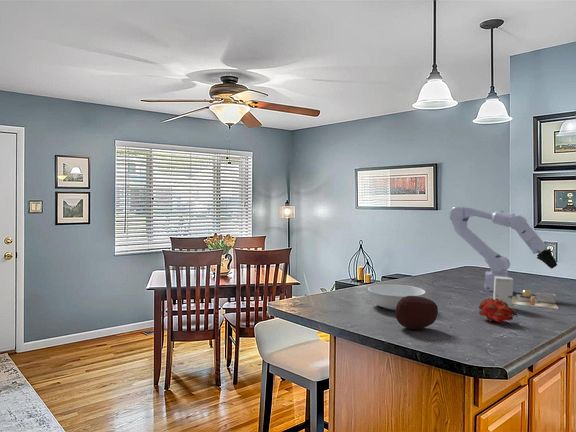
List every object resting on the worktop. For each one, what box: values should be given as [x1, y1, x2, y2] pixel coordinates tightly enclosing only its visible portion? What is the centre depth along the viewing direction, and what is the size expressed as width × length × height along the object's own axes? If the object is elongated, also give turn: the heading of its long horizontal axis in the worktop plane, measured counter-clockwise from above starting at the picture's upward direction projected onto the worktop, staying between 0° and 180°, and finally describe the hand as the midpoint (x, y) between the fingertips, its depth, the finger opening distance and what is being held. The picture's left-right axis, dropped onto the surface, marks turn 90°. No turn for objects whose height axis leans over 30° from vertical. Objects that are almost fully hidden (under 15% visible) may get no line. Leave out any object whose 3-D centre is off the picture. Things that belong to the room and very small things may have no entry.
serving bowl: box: [367, 283, 427, 311], centre depth 166 cm, size 21×21×7 cm
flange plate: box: [516, 292, 557, 304], centre depth 177 cm, size 14×7×3 cm, turn 65°
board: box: [512, 295, 559, 310], centre depth 176 cm, size 17×16×1 cm
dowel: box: [531, 297, 535, 305], centre depth 170 cm, size 1×1×3 cm
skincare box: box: [492, 276, 514, 308], centre depth 165 cm, size 6×4×12 cm
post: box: [521, 289, 532, 298], centre depth 178 cm, size 3×3×4 cm
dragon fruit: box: [478, 297, 518, 325], centre depth 148 cm, size 8×8×12 cm
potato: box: [394, 296, 439, 330], centre depth 138 cm, size 11×13×10 cm
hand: (554, 267), depth 183 cm, fingers open, 7 cm apart
